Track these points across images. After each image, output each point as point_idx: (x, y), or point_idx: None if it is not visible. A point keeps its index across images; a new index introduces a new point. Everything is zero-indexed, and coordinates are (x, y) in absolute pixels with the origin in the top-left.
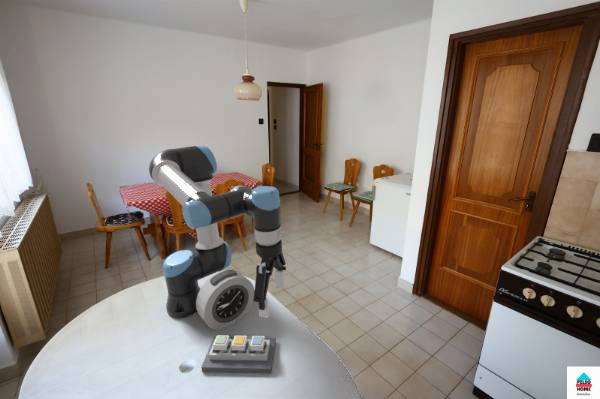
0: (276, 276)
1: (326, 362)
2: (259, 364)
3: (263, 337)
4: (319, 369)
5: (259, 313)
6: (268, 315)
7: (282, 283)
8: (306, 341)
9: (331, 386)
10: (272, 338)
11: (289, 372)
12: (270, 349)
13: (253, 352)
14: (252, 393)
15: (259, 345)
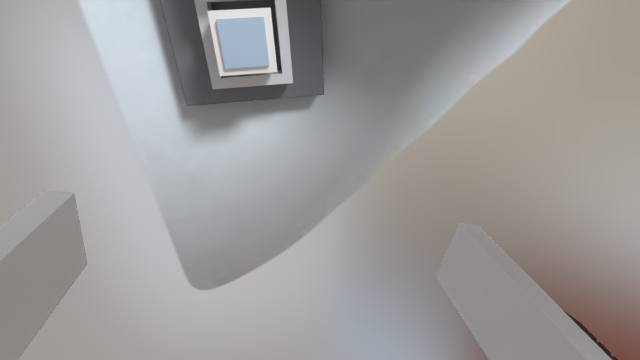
0: (547, 342)
1: (264, 241)
2: (192, 57)
3: (268, 68)
4: (239, 228)
5: (19, 216)
6: (75, 271)
7: (466, 315)
8: (330, 185)
9: (197, 257)
10: (319, 82)
11: (210, 155)
12: (267, 85)
13: None
14: (98, 50)
15: (219, 60)
